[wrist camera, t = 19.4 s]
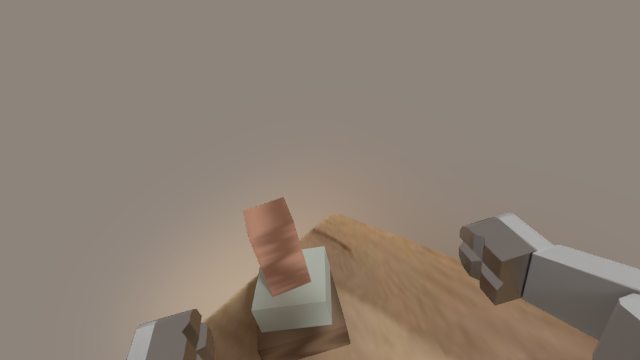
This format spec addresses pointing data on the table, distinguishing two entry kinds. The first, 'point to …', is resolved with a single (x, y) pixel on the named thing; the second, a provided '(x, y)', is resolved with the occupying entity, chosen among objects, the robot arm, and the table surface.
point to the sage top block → (296, 298)
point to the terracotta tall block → (277, 246)
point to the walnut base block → (306, 337)
